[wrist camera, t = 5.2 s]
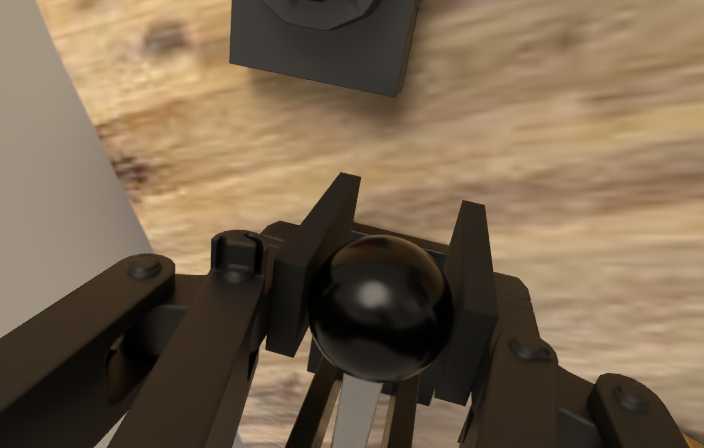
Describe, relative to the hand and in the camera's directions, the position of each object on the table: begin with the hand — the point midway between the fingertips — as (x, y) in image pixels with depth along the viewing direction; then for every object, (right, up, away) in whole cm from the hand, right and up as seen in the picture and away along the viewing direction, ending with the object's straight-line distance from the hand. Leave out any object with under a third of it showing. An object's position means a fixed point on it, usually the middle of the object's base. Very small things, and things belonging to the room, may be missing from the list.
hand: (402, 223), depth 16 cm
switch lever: (-1, -6, 0) cm, 6 cm away
